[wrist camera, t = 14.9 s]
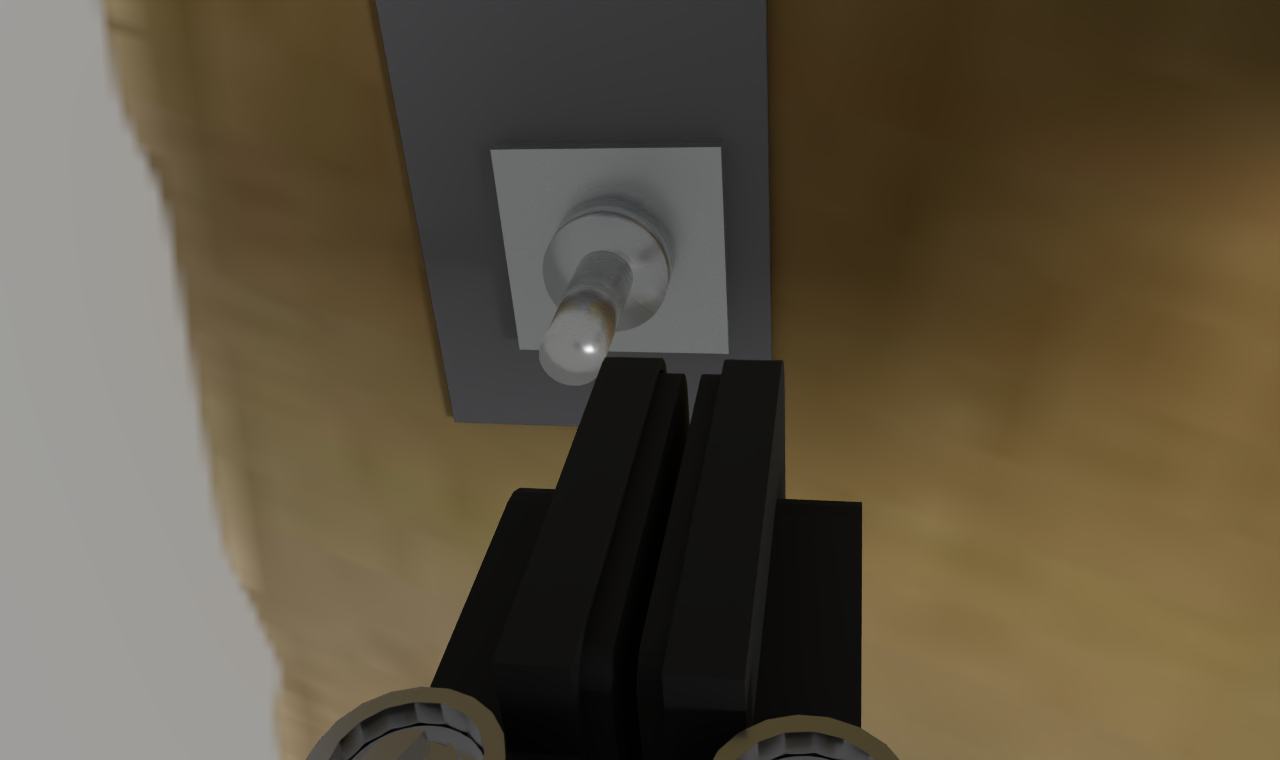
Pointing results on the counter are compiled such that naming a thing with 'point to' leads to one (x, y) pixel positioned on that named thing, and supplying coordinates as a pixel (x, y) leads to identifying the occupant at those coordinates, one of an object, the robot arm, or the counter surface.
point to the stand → (614, 248)
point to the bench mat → (569, 111)
